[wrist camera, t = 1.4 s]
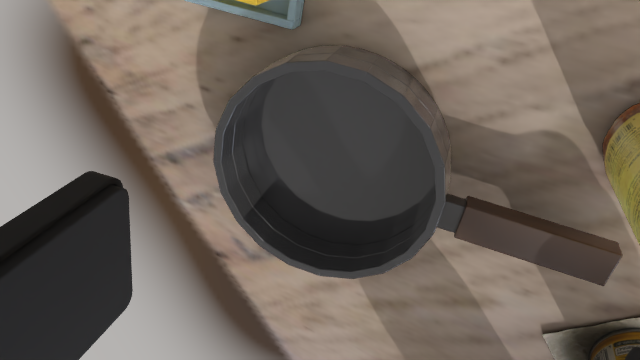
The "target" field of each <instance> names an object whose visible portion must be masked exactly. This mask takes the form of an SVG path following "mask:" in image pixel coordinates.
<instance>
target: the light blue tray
mask: <svg viewBox="0 0 640 360" xmlns="http://www.w3.org/2000/svg"><path fill="white" fill-rule="evenodd" d="M185 1H188V2H192V3H196V4H200V5H203V6H207V7H211V8H214V9H218V10H222V11H225V12H229V13H233V14H237V15H240V16H244V17H248V18H251V19H255V20H259V21H262V22H266V23H270V24H273V25H277V26H281V27H285V28H288V29H292V30H293V29H295V28H296V27H298V26H300V24H301V18H302V12H303V5H304V0H269V1H266V2H264V3H261V4H259V5H256V6H255V5H252V4H248V3H244V2H240V1H236V0H185Z"/></svg>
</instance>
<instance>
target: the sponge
mask: <svg viewBox="0 0 640 360" xmlns="http://www.w3.org/2000/svg"><path fill="white" fill-rule="evenodd" d="M236 1H240V2H244V3H248V4H252V5H255V6H256V5H259V4H261V3H264V2H266V1H269V0H236Z"/></svg>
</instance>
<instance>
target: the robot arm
mask: <svg viewBox="0 0 640 360" xmlns="http://www.w3.org/2000/svg"><path fill="white" fill-rule="evenodd" d="M131 271H132V270H131V245H130V220H129V196H128V192H127V190H126V189H124V188H123V185H122V183H121V181H120V180H118V179H116V178H113V177H110V176H107V175H104V174H100V173H97V172H94V171H89V172H87V173H84V174H83V175H81V176H80V177H78V178H76V179H75V180H74V181H72V182H70V183H69V184H67V185H65V186H64V187H62V188H61V189H59V190H58V191H56V192H54V193H53V194H51V195H50V196H48V197H47V198H45V199H43V200H42V201H40V202H39V203H37V204H36V205H34V206H32V207H31V208H29V209H28V210H26V211H25V212H23V213H21V214H20V215H18V216H17V217H15V218H14V219H12V220H10V221H9V222H7V223H6V224H4V225H3V226H1V227H0V360H79V359H80V358H81V357H82V355H83V354H84V353H85V352H86V351H87V350H88V349H89V348H90V347H91V346H92V344H94V343H95V342H96V340H97V339H98V338H99V337H100V336H101V335H102V334H103V333H104V332H105V331H106V330H107V329H108V327H109V326H110V325H111V324H112V323H113V322H114V321H115V320H116V319H117V318H118V317H119V316H120V314H122V312H123V311H124V310H125V309H126V308H127V306H128V304H129V302H130V300H131V297H132V272H131ZM624 360H640V347H634V348H632V349H631V350H630V351H629V353H628V354H627V356H626V358H625V359H624Z"/></svg>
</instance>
